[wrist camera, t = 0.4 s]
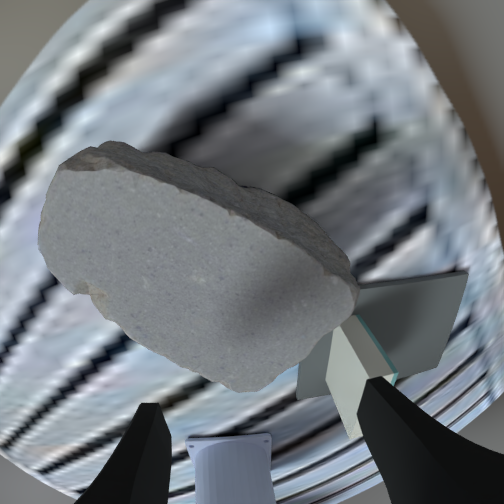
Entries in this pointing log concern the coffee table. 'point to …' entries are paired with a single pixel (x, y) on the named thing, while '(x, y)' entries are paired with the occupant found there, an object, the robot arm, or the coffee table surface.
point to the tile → (355, 368)
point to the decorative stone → (194, 263)
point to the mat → (396, 326)
